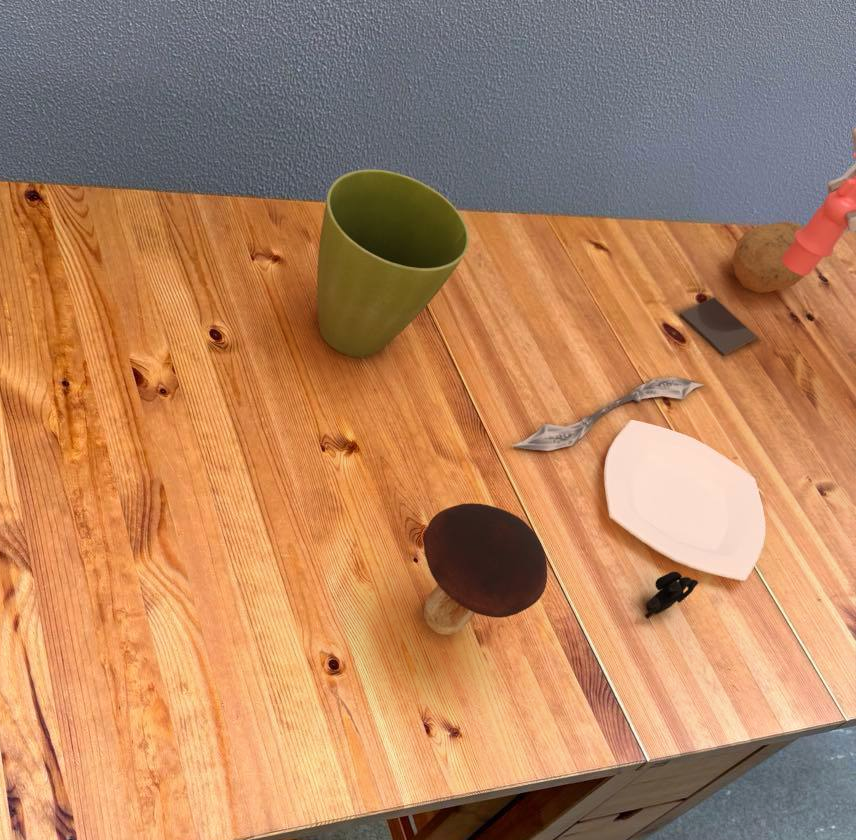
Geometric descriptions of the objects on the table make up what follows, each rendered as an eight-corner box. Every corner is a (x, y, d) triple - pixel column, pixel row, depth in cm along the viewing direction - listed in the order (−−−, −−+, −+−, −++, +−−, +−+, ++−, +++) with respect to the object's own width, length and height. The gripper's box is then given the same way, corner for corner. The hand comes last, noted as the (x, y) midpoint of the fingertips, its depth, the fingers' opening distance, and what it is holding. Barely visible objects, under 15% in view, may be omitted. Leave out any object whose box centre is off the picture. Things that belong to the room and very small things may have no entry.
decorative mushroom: (414, 688, 85) (483, 602, 73) (363, 583, 90) (420, 487, 78) (514, 658, 90) (594, 573, 78) (461, 560, 95) (528, 466, 83)
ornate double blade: (705, 388, 120) (677, 361, 122) (707, 385, 120) (679, 358, 122) (536, 476, 104) (506, 443, 106) (538, 472, 103) (508, 439, 105)
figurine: (775, 267, 117) (861, 155, 105) (776, 245, 120) (860, 135, 108) (814, 284, 117) (905, 174, 105) (814, 262, 120) (902, 154, 108)
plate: (749, 609, 102) (761, 600, 100) (582, 530, 102) (591, 519, 100) (760, 484, 113) (770, 474, 112) (610, 413, 113) (619, 402, 112)
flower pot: (336, 268, 114) (379, 150, 102) (437, 340, 112) (495, 229, 100) (260, 325, 106) (297, 204, 93) (369, 405, 103) (422, 291, 91)
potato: (699, 272, 135) (734, 226, 129) (749, 246, 143) (784, 201, 137) (753, 318, 132) (791, 273, 126) (800, 289, 140) (839, 245, 134)
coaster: (755, 339, 130) (757, 337, 130) (723, 356, 126) (725, 354, 125) (712, 299, 132) (714, 297, 132) (679, 314, 128) (680, 312, 128)
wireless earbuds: (637, 625, 96) (665, 599, 92) (621, 605, 97) (648, 578, 93) (682, 602, 100) (711, 577, 96) (667, 583, 101) (695, 557, 97)
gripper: (934, 74, 110) (804, 133, 115) (1018, 187, 98) (869, 246, 103) (935, 118, 114) (810, 172, 120) (1015, 231, 103) (873, 286, 108)
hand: (838, 208), depth 111 cm, fingers closed on figurine, 4 cm apart
